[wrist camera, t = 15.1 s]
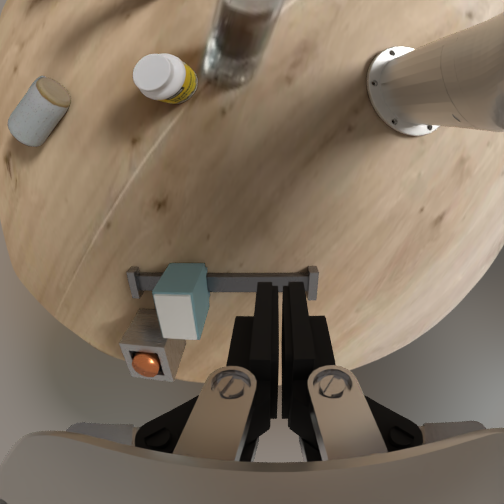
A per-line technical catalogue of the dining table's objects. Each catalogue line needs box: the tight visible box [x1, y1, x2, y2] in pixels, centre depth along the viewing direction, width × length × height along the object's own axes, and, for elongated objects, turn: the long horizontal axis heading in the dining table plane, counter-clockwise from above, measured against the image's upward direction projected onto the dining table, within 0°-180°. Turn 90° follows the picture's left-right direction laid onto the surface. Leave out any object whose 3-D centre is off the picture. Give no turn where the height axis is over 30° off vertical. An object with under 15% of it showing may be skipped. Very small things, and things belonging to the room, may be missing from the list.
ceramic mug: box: [8, 76, 71, 147], centre depth 29 cm, size 11×8×8 cm
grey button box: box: [119, 309, 186, 382], centre depth 43 cm, size 7×7×9 cm
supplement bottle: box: [133, 53, 197, 104], centre depth 28 cm, size 5×5×10 cm
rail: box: [127, 266, 319, 300], centre depth 42 cm, size 27×4×2 cm, turn 91°
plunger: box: [132, 351, 161, 377], centre depth 41 cm, size 4×4×8 cm
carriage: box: [152, 263, 210, 340], centre depth 38 cm, size 5×7×9 cm
